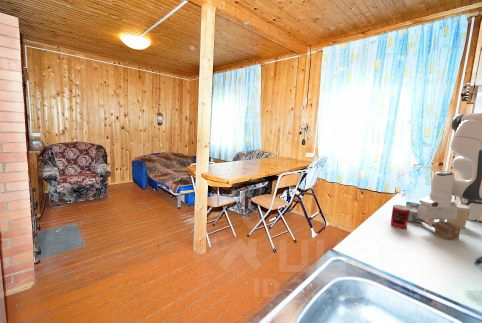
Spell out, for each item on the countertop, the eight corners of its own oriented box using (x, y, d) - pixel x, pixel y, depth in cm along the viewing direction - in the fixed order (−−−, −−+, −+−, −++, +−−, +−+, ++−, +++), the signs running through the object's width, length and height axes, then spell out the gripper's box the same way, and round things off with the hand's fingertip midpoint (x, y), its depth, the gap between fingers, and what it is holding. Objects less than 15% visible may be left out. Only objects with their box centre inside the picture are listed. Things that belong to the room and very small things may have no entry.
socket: (446, 234, 120) (448, 221, 119) (458, 239, 114) (461, 226, 113) (434, 234, 119) (436, 221, 118) (445, 239, 113) (448, 226, 112)
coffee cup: (471, 229, 127) (475, 209, 125) (451, 227, 129) (455, 207, 127) (458, 223, 136) (462, 203, 134) (440, 221, 138) (444, 202, 136)
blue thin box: (405, 210, 155) (406, 201, 154) (405, 209, 156) (406, 201, 155) (427, 215, 146) (429, 206, 146) (428, 215, 147) (429, 206, 147)
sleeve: (413, 218, 140) (414, 208, 139) (421, 222, 134) (423, 212, 133) (403, 218, 139) (404, 208, 138) (411, 222, 133) (413, 212, 132)
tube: (420, 220, 134) (421, 213, 133) (447, 232, 118) (448, 225, 117) (413, 220, 133) (415, 213, 133) (440, 232, 118) (441, 225, 117)
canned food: (401, 223, 132) (404, 205, 130) (410, 229, 124) (413, 210, 122) (387, 222, 132) (390, 204, 131) (395, 228, 125) (398, 209, 123)
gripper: (451, 200, 125) (446, 224, 127) (416, 199, 123) (412, 224, 125) (463, 203, 118) (458, 229, 120) (427, 203, 116) (423, 229, 118)
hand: (435, 226), depth 122 cm, fingers closed on tube, 3 cm apart
